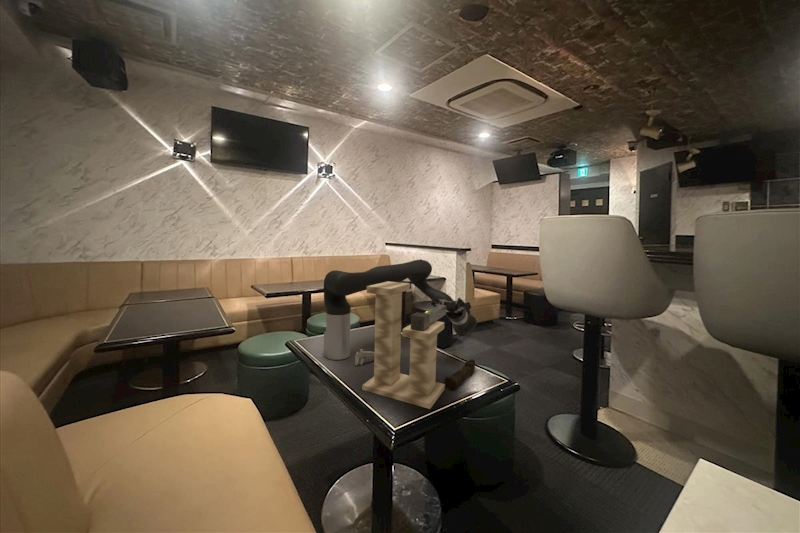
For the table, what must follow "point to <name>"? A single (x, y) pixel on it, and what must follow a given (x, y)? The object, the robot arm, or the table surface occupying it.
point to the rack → (387, 351)
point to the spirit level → (427, 318)
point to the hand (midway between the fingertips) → (446, 299)
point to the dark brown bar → (460, 375)
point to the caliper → (363, 356)
